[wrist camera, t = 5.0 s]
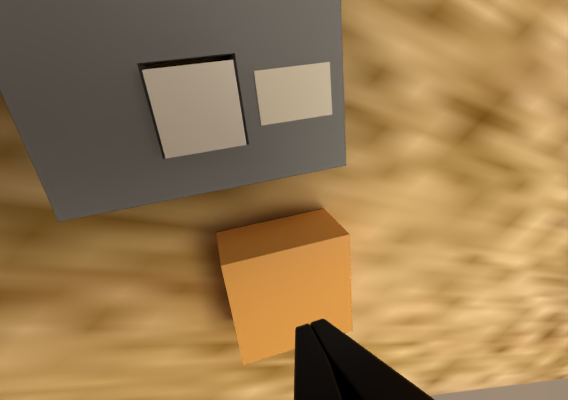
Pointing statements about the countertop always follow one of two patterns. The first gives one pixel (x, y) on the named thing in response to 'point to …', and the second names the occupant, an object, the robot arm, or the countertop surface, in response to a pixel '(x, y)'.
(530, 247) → the countertop surface
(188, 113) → the breaker button
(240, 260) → the cap
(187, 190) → the panel
